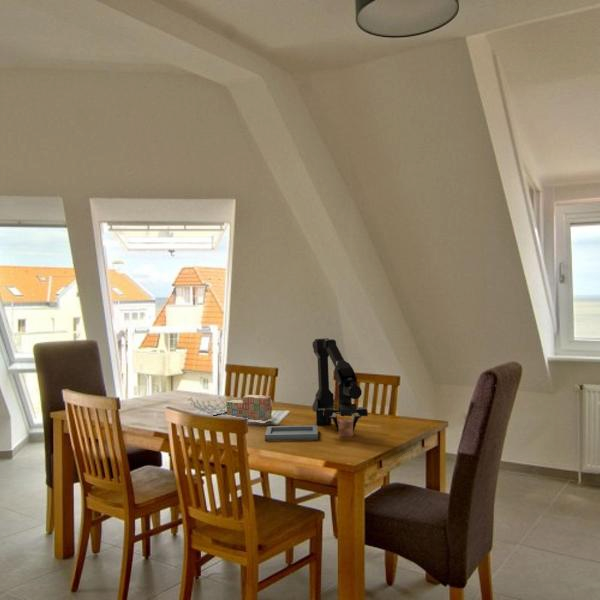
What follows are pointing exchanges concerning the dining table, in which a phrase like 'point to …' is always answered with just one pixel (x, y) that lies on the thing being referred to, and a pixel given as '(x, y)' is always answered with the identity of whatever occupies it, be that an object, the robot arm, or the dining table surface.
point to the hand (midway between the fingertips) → (345, 432)
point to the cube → (345, 428)
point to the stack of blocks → (251, 407)
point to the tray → (291, 433)
